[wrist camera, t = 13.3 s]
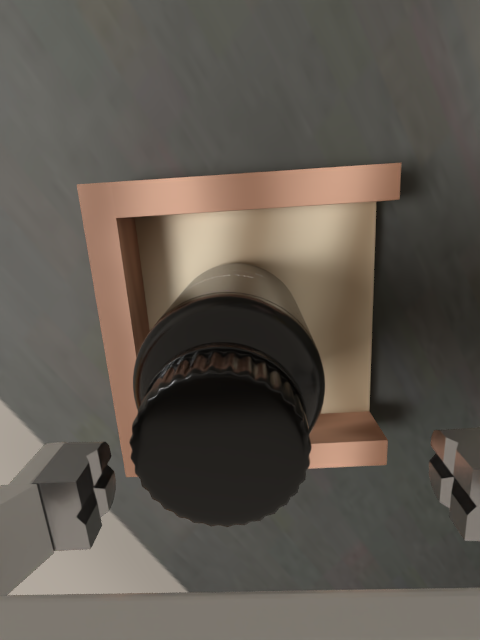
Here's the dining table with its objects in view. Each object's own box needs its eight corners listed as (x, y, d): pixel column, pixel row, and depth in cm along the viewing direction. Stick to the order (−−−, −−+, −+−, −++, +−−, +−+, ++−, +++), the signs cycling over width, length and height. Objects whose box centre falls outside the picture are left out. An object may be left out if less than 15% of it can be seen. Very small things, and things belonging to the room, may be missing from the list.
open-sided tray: (370, 172, 20) (401, 162, 16) (363, 424, 24) (386, 464, 20) (108, 189, 20) (76, 184, 17) (144, 435, 24) (126, 476, 21)
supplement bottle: (233, 233, 20) (215, 265, 8) (323, 320, 21) (415, 451, 10) (150, 324, 21) (37, 457, 10) (238, 400, 23) (230, 598, 11)
